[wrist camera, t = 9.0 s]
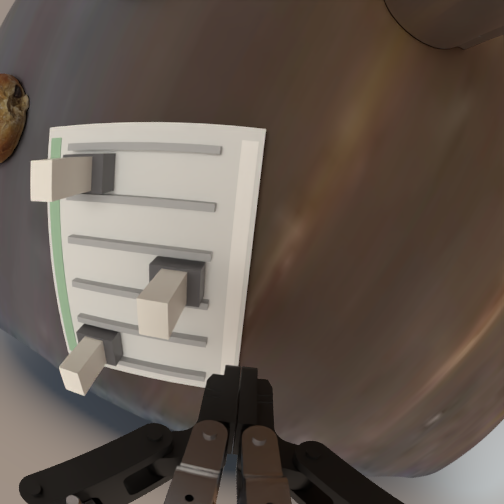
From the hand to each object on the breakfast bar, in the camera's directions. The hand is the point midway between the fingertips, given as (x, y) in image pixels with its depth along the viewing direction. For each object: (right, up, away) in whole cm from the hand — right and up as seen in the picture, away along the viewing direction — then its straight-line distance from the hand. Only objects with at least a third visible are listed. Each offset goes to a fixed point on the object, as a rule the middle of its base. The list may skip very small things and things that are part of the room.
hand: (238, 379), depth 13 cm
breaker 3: (-5, +4, +11) cm, 13 cm away
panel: (-9, +5, +12) cm, 16 cm away
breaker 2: (-14, -3, +13) cm, 19 cm away
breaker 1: (-12, +13, +8) cm, 19 cm away
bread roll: (-27, +20, +8) cm, 35 cm away
